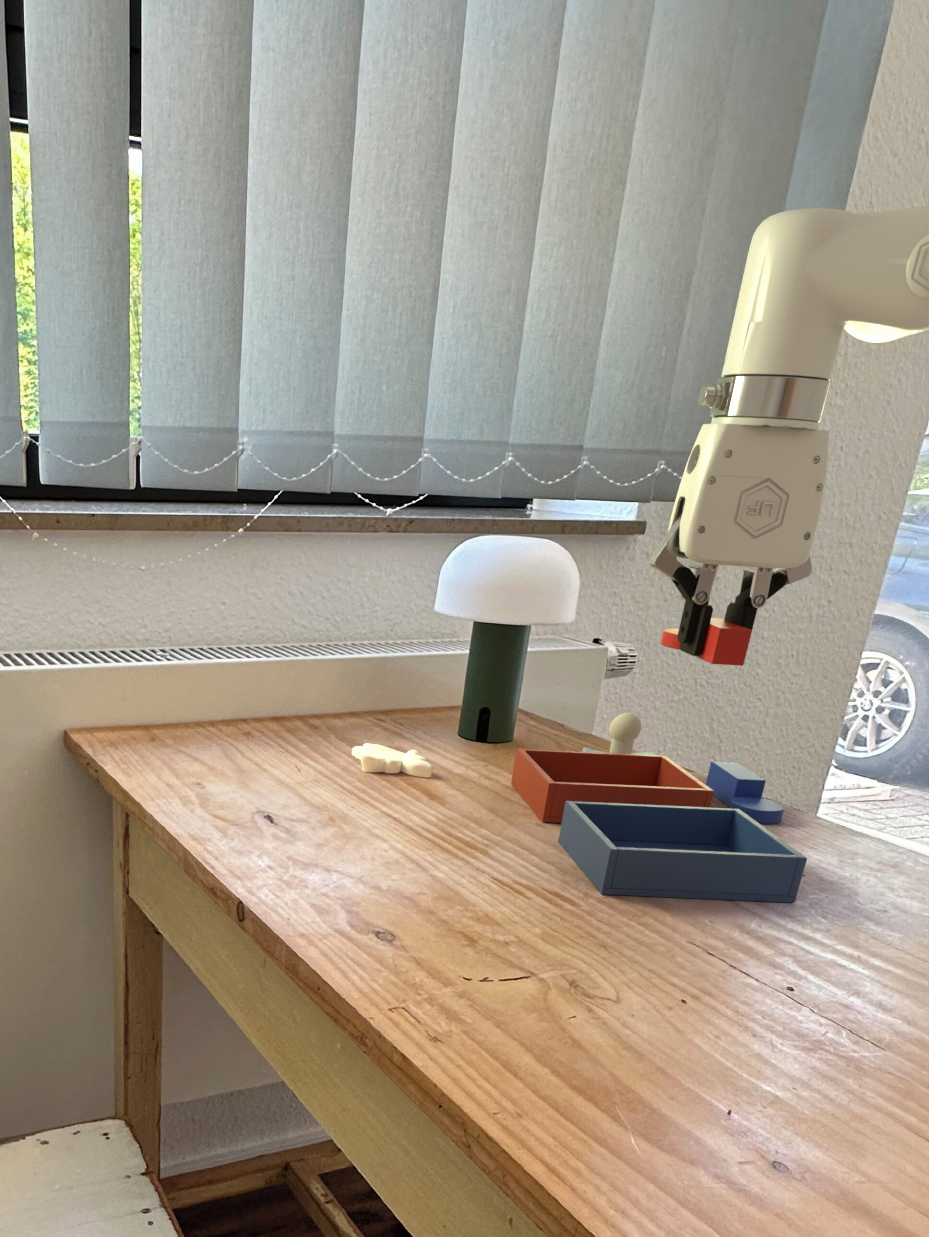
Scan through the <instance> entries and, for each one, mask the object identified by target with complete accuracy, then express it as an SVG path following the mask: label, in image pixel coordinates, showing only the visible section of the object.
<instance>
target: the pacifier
mask: <svg viewBox="0 0 929 1237" xmlns="http://www.w3.org/2000/svg"><path fill="white" fill-rule="evenodd" d="M641 731H642V720H641V719H640V717H639V715H637V714H635V713H633V712H623V713H621V714H619V715H617V716H615V717H614V719H613V720H612V721H611V723H610V724H609V727H608V733H609V736H610V739H611V742H610V747H609V752H607V751H603V750H597V749H594V748H590V747H587V746H583V747H582V752H601V753H622V754H643V755H659V756H660V754H659V753H658V752H653V751H644V752H642V751H641V752H633V748H634V743H635V740H636V739H637V738H638V737H639V736H640V733H641Z"/></svg>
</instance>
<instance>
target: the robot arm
mask: <svg viewBox="0 0 929 1237" xmlns="http://www.w3.org/2000/svg"><path fill="white" fill-rule="evenodd" d="M743 270H744V271H743V276H742V280H741V284H740V288H739V294H738V298H737V303H736V307H735V311H734V316H733V321H732V326H731V329H730V335H729V338H728V343H727V349H726V353H725V357H724V362H723V367H722V372H721V377H719V378H718V379H717V381H716V383H715V384H712V385H703V386H702V387H701V388H700V391H699V394H698V400H697V401H698V404H699V405H700V406H707V407H708V408H709V409H710V412H709V416H710V417H712V418H711V422H710V423H703V424H702V426H701V428H700V429H699V432H698V435H697V437H696V439H695V442H694V444H693V447H692V448H691V451H690V454H689V457H688V459H687V462H686V465H685V468H684V471H683V474H682V477H681V479H680V483H679V486H678V489H677V493H676V498H675V500H674V503H673V507H672V511H671V515H670V519H669V522H668V528H667V533H666V534H665V536H664V537H663V538H662V540H661V541H660V543H659V544H658V546H657V547H656V548H655V550H654V552H652V555H651V556H650V557H649V560H648V562H649V565H650V566H651V567H652V568H653V569H655V570H657V571H658V572H659V573H661V574H663V575H664V576H666V577H667V578H669V579H670V581H672V583H673V585H674V586H675V588H676V589H677V590H678V592H679V593H680V597H681V599H682V600H684V605H683V610H682V615H681V618H680V623H679V627H678V629H679V632H678V641H679V642H680V651H681V652H683V653H685V654H687V655H690V656H692V657H693V656H694V657H696V656H700V654H702V652H703V648H704V644H705V640H706V636H707V631H708V627H709V624H710V621H711V618H713V617H712V616H713V613H714V608H713V605H711V604H709V602H710V598H711V597H710V596H711V593H712V589H713V586H714V582H715V580H716V579H715V578H716V577H717V576H716V574H717V572H718V568H719V566H731V567H732V566H733V567H734V566H735V567H741V571H740V577H739V582H738V586H737V592H736V596H735V600H734V602H729V604H728V605H727V606H726V611H725V614H724V619H723V620H726V621H728V622H731V623H734V624H737V625H740V626H742V627H745V628H748V629H751V630H752V631H753V629H754V624H755V620H756V616H757V612H758V609H762V608H763V607H764V606H765V605H766V603H767V601H768V600H769V599H770V598H771V597H772V596H774V595H775V594H776V593H778V592H779V591H780V590H782V588H784V587H785V586H786V585H791V584H793V583H797V582H798V581H800V580H803V579H805V578H808V577H810V575H811V574H812V573H813V565H812V559H811V554H812V551H813V548H814V544H815V540H816V535H817V531H818V526H819V522H820V517H821V512H822V506H823V501H824V494H825V487H826V481H827V475H828V474H827V473H828V463H829V449H830V447H829V446H830V431H829V430H824V429H819V426H820V422H821V419H822V416H823V411H824V407H825V403H826V400H827V396H828V392H829V388H830V384H831V382H830V381H832V376H833V372H834V369H835V364H836V361H837V357H838V353H839V350H840V346H841V341H842V337H843V334H844V330H845V331H846V333H848V334H849V335H850V336H852V337H854V338H855V339H858V340H859V341H860V340H861V341H863V342H868V343H876V344H877V343H888V342H892V341H895V340H899V339H903V338H905V337H908V336H912V335H916V334H920V333H924V332H926V331H929V205H921V206H915V207H907V208H900V209H891V210H883V211H881V210H880V211H871V212H859V213H857V212H856V213H855V212H852V211H848V210H844V209H839V208H821V207H815V208H814V207H813V208H798V209H789V210H784V211H780V212H777V213H775V214H772V215H770V216H767V217H766V218H765V219H763V221H761V223H760V224H758V226H757V228H756V229H755V231H754V233H753V235H752V237H751V240H750V245H749V248H748V252H747V257H746V262H745V266H744V269H743ZM677 558H680V559H688V560H689V561H688V566H686V565H684V564H683V563H681V562H679V560H678V559H677ZM774 569H775V570H774Z"/></svg>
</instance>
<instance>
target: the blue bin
mask: <svg viewBox="0 0 929 1237" xmlns="http://www.w3.org/2000/svg"><path fill="white" fill-rule="evenodd" d="M559 830H560V831H559V835H558V840H557V843H559V845H560V846H561V847H562V848H563V849H564V850H565V852H566V853H567V854H568V855H569V857H570V858H571V859H572V860H573V861H574V863H575V864H576V865H577V866H578V867H579V869H580V870H581V872H583V874H584V875H585V876H586V877H587V879H588V880H589V881H590V883H591V884H592V885H593V886H594V888H596V889H597V891H598V892H599V894H600V895H606V896H607V895H608V896H631V897H652V898H673V899H675V898H676V899H697V900H723V901H742V902H743V901H745V902H766V903H787V904H788V903H791V904H793V903H796V900H797V895H798V892H799V888H800V885H801V882H802V877H803V874H804V872H805V867H806V864H807V860H808V858H807V857H806V856H805V855H803V853H800V851H798V850H797V849H795V848H794V847H792V846H791V845H790V844H788V843H787V842H785V841H784V840H783V839H781V838H780V837H779V836H777V835H776V834H774V833H773V832H772V831H770V830H769V829H768V828H766V827H765V826H764V825H762V824H761V823H758V822H756V821H755V820H754V819H752V818H751V817H749V816H748V815H747V814H745V813H744V812H743V811H741V810H740V809H730V808H728V807H727V808H726V807H710V808H708V807H687V806H665V805H644V804H622V803H600V802H579V801H566V802H565V807H564V812H563V818H562V823H560V829H559Z"/></svg>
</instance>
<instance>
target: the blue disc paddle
mask: <svg viewBox="0 0 929 1237" xmlns="http://www.w3.org/2000/svg"><path fill="white" fill-rule="evenodd" d="M766 782H767V781H766V779H764V778H763V777H761V776H759V775H758V774H756V773H755V772H753V771H752V770H750V769H749V768H747V767H745V765H743V764H741V763H739V762H736V761H716V760H715V761H710V765H709V769H708V773H707V777H706V782H705V785H707V786H708V787H709V788H711V789H712V790H714V794H713V797H715V798H716V799H717V800H719V801H720V802H722V804H725V805H726V806H727V808H728V807H729V808H730V809H740V810H741V811H743V812H744V813H745V814H747V815H748V816H749V817H751V818H752V819H754V820H755V821H756V822H758V823H759V824H761V825H762V824H763V825H774V824H778V823H780V822H782V818H783V814H784V811H785V807H784V805H782V804H781V803H780V802H777V801H775V800H771V799H768V798H764V797H763V794H764V790H765V785H766Z"/></svg>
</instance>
